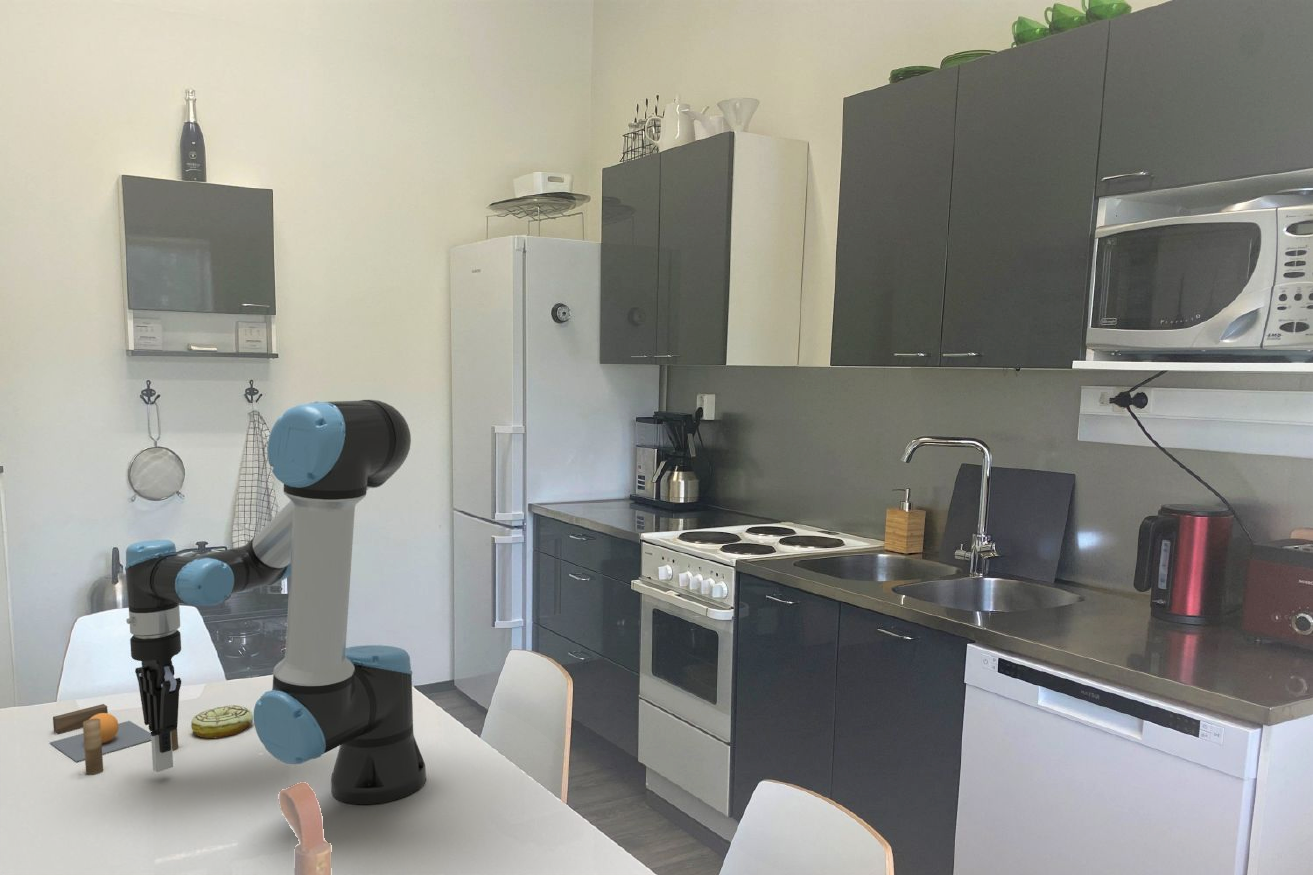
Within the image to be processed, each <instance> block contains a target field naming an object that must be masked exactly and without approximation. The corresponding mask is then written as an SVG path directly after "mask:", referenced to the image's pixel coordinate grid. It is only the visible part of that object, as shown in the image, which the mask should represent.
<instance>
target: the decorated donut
mask: <svg viewBox="0 0 1313 875" xmlns="http://www.w3.org/2000/svg"><path fill="white" fill-rule="evenodd" d="M253 715H254V714H253V712H252V711H251V709H249V708H248V707H245V706H242V705H235V704H231V705H225V706H218V707H215V708H212V709H207V710H205V711H202V712H200V713H198V714H196V715H194V716H193V718H192V719H191V721H190V722H191V726H190V727H191V730H192V731H193V733H194V734H195V735H196V734H197V735H196V736H198V737H199V736H200V738H203V737H207V738H206V739H216V738H215V737H220V738H224V737H228V736H234V735H236V734H239V733H241V732H242V731H243V730H245V729H246V728H247V727H248V726H249V725H250V724H251V723H252V722H254V716H253Z"/></svg>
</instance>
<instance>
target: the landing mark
mask: <svg viewBox="0 0 1313 875" xmlns="http://www.w3.org/2000/svg"><path fill="white" fill-rule="evenodd" d="M118 725H119V728H118V732H117V734H116V735H115V737H114V738H113V739H112V740H110V741H109V742H107V743H104V744H102V756H104V755H107V754H110V753H109V752H111V753H114V752H117V751H122V750H123V749H127V747H128V748H130V746H131V747H133V746H134V745H135V746H137V745H141V744H145V743H149V742H151V741H150V740H151V731H148V730H147V729H145V728H143V727H141V726H139V725H138V724H136V723H134V722H132V721H130V720H127V721H122V722H120V723H119V722H118ZM49 744H50V745H51V746H53V747H54V748H55V749H57V750H58V751H60V752H61V753H62V752H63V753H62V754H64V755H65V756H66V755H67V757H68V758H69V759H70V760H72V759H73V760H74V762H75V763H80V762H83V761H85V749H84V734H83V733H80V734H75V735H72V736H68V737H65V738H61V739H58V740H53V741H50V742H49ZM106 753H107V754H106ZM73 760H72V761H73ZM79 761H80V762H79Z"/></svg>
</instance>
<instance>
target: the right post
mask: <svg viewBox="0 0 1313 875" xmlns="http://www.w3.org/2000/svg"><path fill="white" fill-rule="evenodd" d="M178 734H179V733H178V728H177V729H176V730H173V731H171V736H172V752H174V751H175V750H177V748H178V749H179V737H178Z"/></svg>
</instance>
